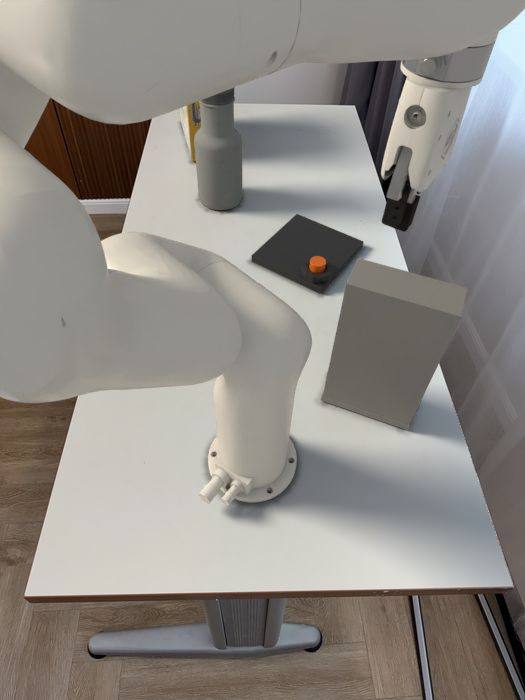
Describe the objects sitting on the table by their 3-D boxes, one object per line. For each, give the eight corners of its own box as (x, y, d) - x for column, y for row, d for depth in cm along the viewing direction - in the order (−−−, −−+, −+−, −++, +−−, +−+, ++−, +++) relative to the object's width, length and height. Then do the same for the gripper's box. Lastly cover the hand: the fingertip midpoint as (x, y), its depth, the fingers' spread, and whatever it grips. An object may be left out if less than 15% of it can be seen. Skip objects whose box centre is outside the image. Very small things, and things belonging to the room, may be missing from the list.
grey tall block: (415, 400, 80) (469, 283, 60) (407, 431, 76) (462, 317, 57) (331, 372, 83) (358, 253, 63) (320, 401, 79) (344, 284, 60)
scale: (321, 294, 94) (323, 282, 92) (251, 261, 100) (251, 248, 97) (362, 247, 103) (365, 235, 101) (296, 219, 109) (297, 207, 106)
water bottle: (189, 195, 114) (176, 61, 92) (225, 181, 118) (220, 50, 96) (214, 217, 109) (207, 81, 87) (251, 202, 113) (252, 68, 91)
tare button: (320, 275, 93) (321, 268, 92) (306, 269, 94) (307, 262, 93) (327, 267, 95) (329, 259, 94) (314, 260, 96) (315, 253, 95)
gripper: (460, 94, 40) (402, 270, 54) (507, 41, 49) (446, 205, 63) (374, 70, 43) (339, 245, 57) (433, 24, 51) (390, 186, 65)
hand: (396, 224), depth 60 cm, fingers closed
